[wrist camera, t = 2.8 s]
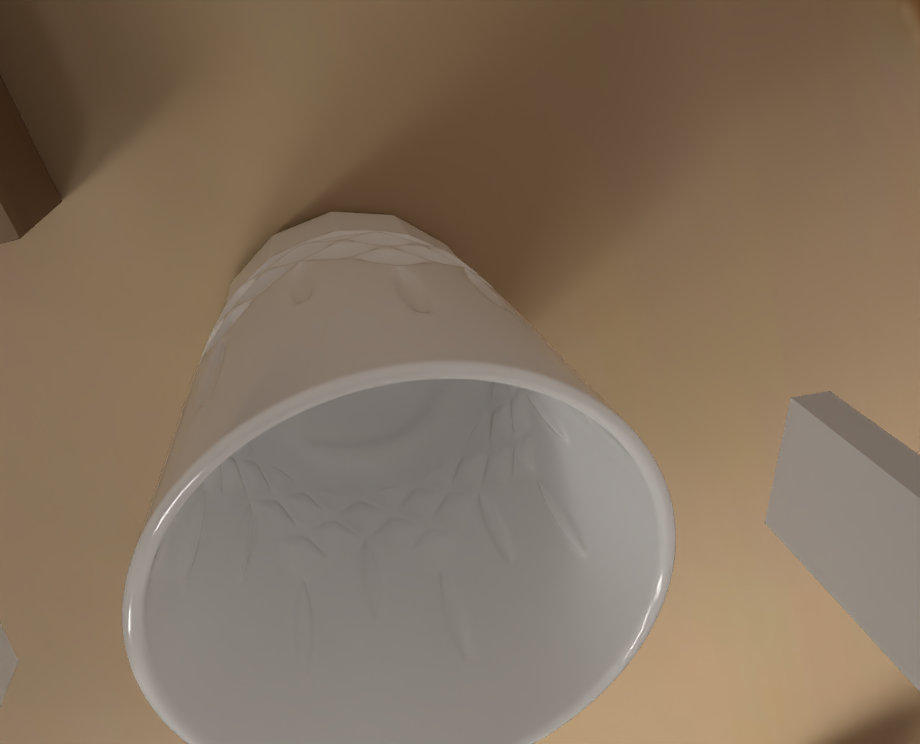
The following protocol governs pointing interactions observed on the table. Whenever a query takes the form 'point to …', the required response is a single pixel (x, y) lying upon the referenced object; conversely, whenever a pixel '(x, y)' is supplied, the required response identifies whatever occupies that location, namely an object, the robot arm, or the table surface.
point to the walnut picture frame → (21, 176)
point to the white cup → (389, 512)
